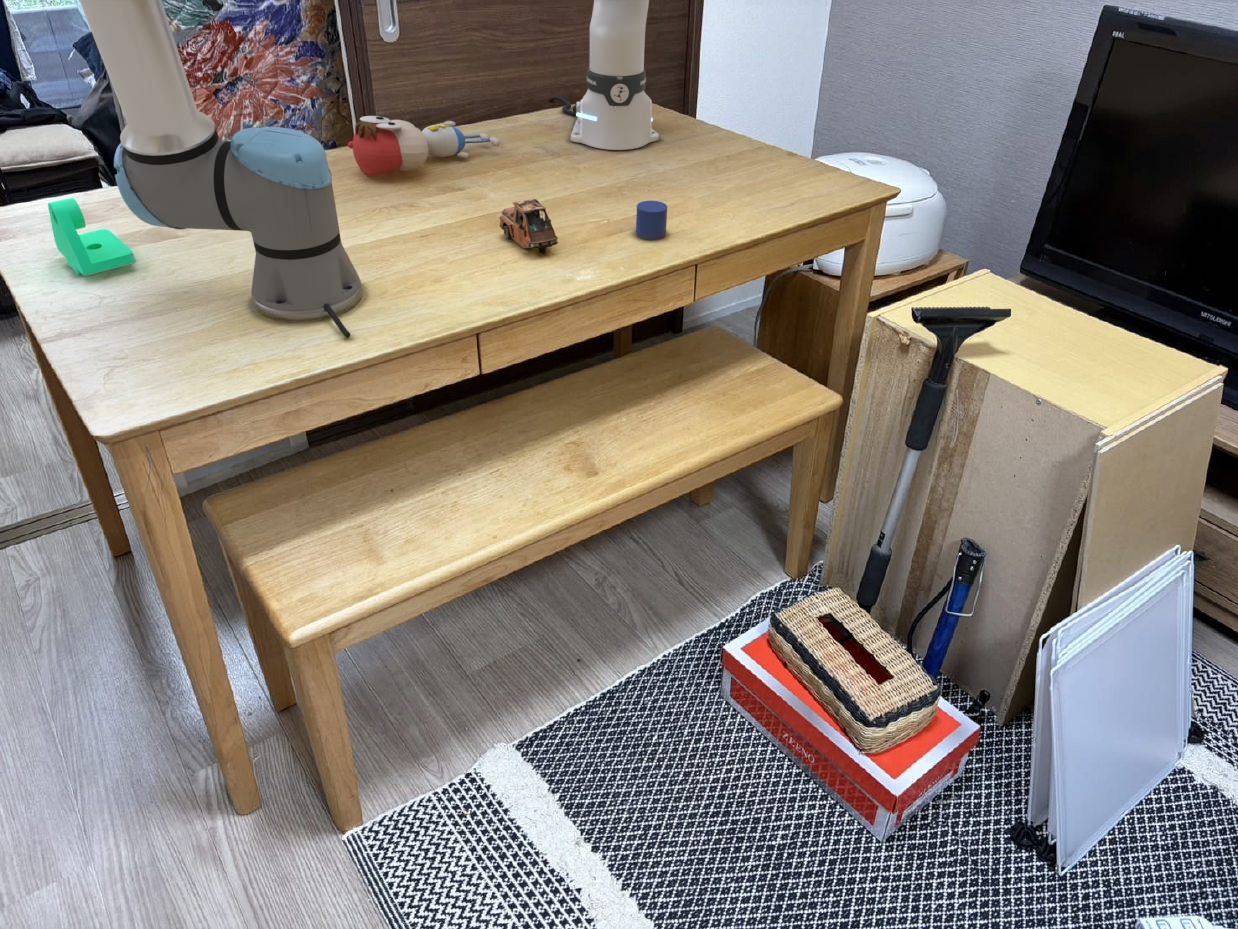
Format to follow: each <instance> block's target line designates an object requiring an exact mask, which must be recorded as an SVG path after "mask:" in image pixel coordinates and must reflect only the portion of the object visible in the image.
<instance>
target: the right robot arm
mask: <svg viewBox="0 0 1238 929" xmlns="http://www.w3.org/2000/svg"><path fill="white" fill-rule="evenodd" d="M649 5H650V0H593V6H592V14H591V19H590V23H589V66H588V68H587V74H586V88H587V90H586V92H585V94H584V95H583V96H582V99H580V100H579V101H576V102H575V103H574V105H573V106H572V103H571V102H570V101H569V100H567V99H566V98H565V97H562V96H560V95H552V96H550V97H549V98H548V100H547V102H549V103H552V102H553V101H559V102H561V103H563V104H564V105H563V106H562V108H561V110H562V111H561V112H563V113H565V114H566V115H568V116H572V117H574V116H575V117H576V119H575V123H574V126H573V128H572V132H571V133H570V141H571V142H573V143H578V144H583V145H586V146H589V147H592V148H596V149H601V150H608V151H609V150H610V151H627V150H634V149H638V148H642V147H644V146H646V145H647V144H649V143H653V142H657V141H659V140H660V134H659V133H658V132H657V131H656V130H654V128H652V126H653V125H652V124H653V123H652V122H653V120H654V119H653V116H652V115H653V114H652V112H653V109H652V107H653V103H652V102H653V101H652V99H651V98H650V97H649V95H648V94H647V93H646V92H645V89H646V82H647V76H646V74H647V73H646V72H647V71H646V70H645V47H646V46H645V45H646V29H647V28H646V26H647V19H648V12H649ZM571 107H572V110H570V108H571Z"/></svg>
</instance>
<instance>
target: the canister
mask: <svg viewBox="0 0 1238 929" xmlns="http://www.w3.org/2000/svg"><path fill="white" fill-rule="evenodd" d="M635 216H636V218H635V235H636V237H637V238H639V239H642V240H646V241H658V240H662V239H664V238H665V237H666V236H667V222H668V205H667V204H666V203H664V202H663V201H659V200H643V201H640V202H638V203H637V204H636V215H635Z"/></svg>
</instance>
